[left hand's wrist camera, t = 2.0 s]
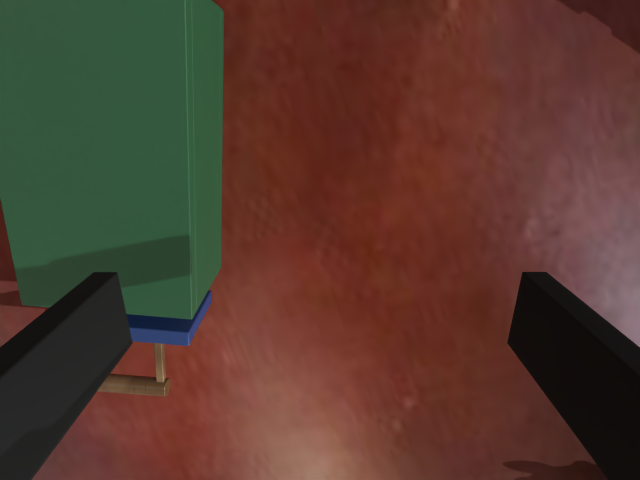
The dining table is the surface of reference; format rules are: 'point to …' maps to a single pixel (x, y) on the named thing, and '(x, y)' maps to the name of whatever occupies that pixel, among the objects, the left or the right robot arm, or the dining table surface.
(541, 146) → the dining table surface
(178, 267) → the green rectangular box
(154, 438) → the dining table surface
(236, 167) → the dining table surface
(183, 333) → the drawer
